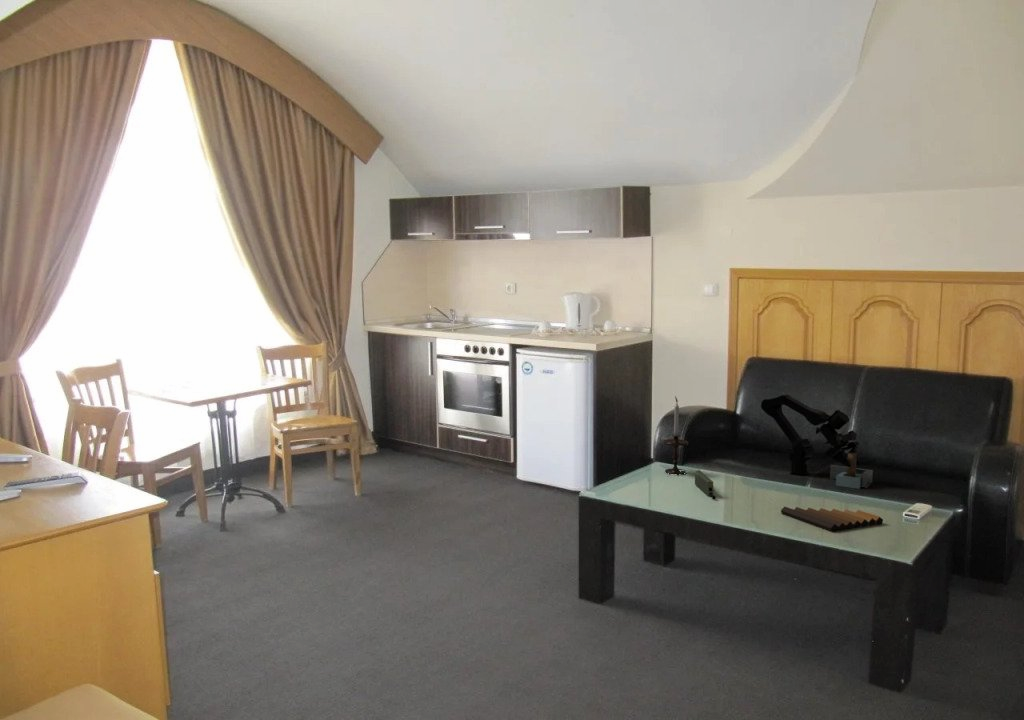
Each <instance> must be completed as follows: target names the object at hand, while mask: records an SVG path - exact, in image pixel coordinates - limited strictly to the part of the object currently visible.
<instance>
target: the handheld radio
mask: <svg viewBox="0 0 1024 720" xmlns="http://www.w3.org/2000/svg"><path fill="white" fill-rule="evenodd" d="M694 485H695V486H696V487H697V489H699V490H700V491H701V492H702V493H703V494H705V496H707V497H708V498H711V499H713V500H716V498H717V497H716V496H715V494H714V481H713V480H712V479H711V478H710V477H708V475H706V474H705V473H704V472H703V471H701V470H699V469H698V470H695V472H694Z"/></svg>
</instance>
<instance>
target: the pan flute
mask: <svg viewBox="0 0 1024 720" xmlns="http://www.w3.org/2000/svg"><path fill="white" fill-rule="evenodd" d="M780 512H781V513H780V514H781V515H783V516H785V517H788V518H792V519H793V520H794V519H795V520H797V521H800V522H803V523H805V524H807V525H810V526H814V527H816V528H819V529H820V530H825V531H826V532H830V533H834V532H835V533H836V532H841V531H842V532H843V531H846V530H847V531H849V530H854V529H859V528H867V527H872V526H873V527H874V526H875V525H876V526H878V525H879V526H880V525H882V524H883V522H884V519H883V518H881V517H880V516H878V515H875V514H872V513H869V512H866V511H864V510H863V511H862V510H859V509H857V510H856V511H853V510H849V509H846V508H845V509H844V510H843V511H842V510H838V509H835V508H833V509H831V511H830V510H829V509H825V508H821V507H820V508H819V509H818V510H817V509H815V508H811V507H808V508H807V509H804V508H801V507H797V506H796V507H795V508H791V507H788V506H783V508H781V510H780Z"/></svg>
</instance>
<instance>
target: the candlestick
mask: <svg viewBox="0 0 1024 720" xmlns="http://www.w3.org/2000/svg"><path fill="white" fill-rule="evenodd" d="M674 398H675V402H676V403H675V406H674V415H673V416H674V419H673V420H674V422H673V423H674V424H673V434H671V436H672V437H673V438H667V439H664V440H663V444H664V445H665V446H671V447H673V449H674V450H673V451H674V452H673V453H674V454H673V455H672V459H673V460H672V463H673V467H672V468H667V469H665V471H664V473H665V472H666V473H669V474H668V475H670V474H684V473H685V472H686V470H684V469H681V468H678V463H679V461H678V460H679V457H680V456H679V455H678V448H679V447H683V446H688V445H689V440H686V439H679V437H681V434H679V422H680V421H679V417H680V416H679V415H680V414H679V413H680V412H679V411H680V406H679V404H678V398H677V396H676V395H675V396H674ZM679 470H684V471H681V472H680V471H679ZM666 473H665V474H666ZM685 474H686V473H685ZM685 474H684V475H685Z"/></svg>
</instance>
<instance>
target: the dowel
mask: <svg viewBox="0 0 1024 720" xmlns="http://www.w3.org/2000/svg"><path fill="white" fill-rule="evenodd" d="M857 457H858V454H857V452H856V453H848V457H846V458H847V460H848V461H849V463H850V465H851V466H850V467H847V466H846V467H847V475H846V476H849V477H856V468H857V464H856V459H857Z"/></svg>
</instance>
